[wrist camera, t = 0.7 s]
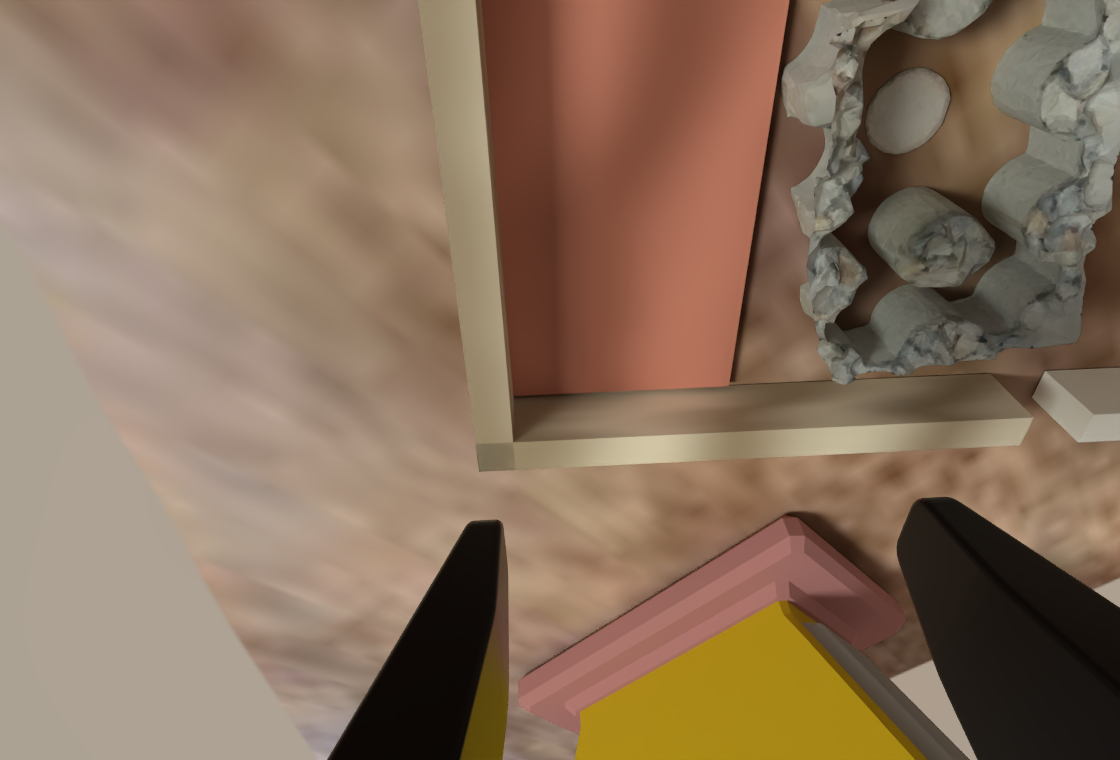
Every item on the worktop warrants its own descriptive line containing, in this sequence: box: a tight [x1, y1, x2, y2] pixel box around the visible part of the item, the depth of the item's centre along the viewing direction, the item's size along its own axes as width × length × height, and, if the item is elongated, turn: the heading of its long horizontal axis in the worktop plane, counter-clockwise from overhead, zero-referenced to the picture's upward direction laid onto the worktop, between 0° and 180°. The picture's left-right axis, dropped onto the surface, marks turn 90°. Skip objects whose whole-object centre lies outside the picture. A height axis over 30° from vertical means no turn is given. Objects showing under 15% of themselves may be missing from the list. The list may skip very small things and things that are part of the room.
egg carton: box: [781, 0, 1120, 385], centre depth 18 cm, size 11×8×4 cm
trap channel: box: [418, 0, 1034, 472], centre depth 18 cm, size 18×17×2 cm
